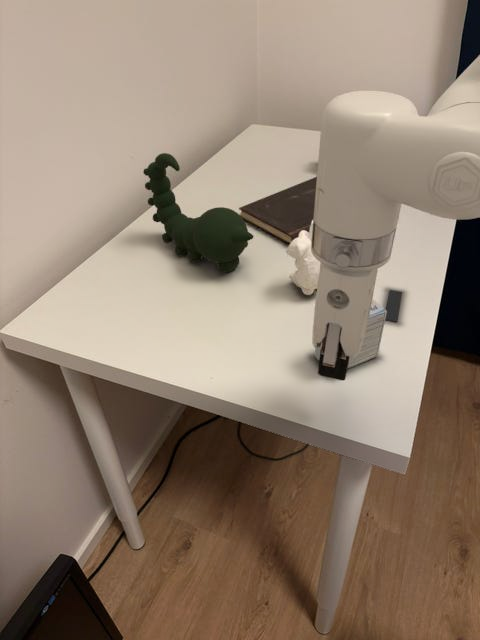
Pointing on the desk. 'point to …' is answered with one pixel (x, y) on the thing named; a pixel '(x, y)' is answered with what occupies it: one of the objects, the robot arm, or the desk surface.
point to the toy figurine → (195, 222)
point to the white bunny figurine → (304, 262)
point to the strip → (393, 305)
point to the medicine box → (368, 336)
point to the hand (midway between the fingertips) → (332, 372)
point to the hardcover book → (284, 211)
